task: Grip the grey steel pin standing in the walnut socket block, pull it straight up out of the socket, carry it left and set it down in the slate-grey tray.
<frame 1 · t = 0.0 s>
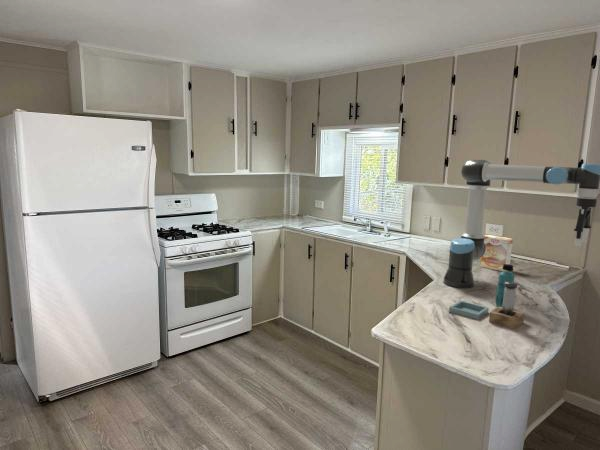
hand: (580, 243, 197), 28 cm above the worktop, tool pointing down, fingers open, 13 cm apart
beverage bottle: (502, 308, 189), on the worktop
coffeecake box: (494, 268, 260), on the worktop
socket block: (505, 324, 170), on the worktop
tray: (468, 314, 180), on the worktop
steel pin: (506, 322, 170), point 1 cm above the worktop, touching socket block
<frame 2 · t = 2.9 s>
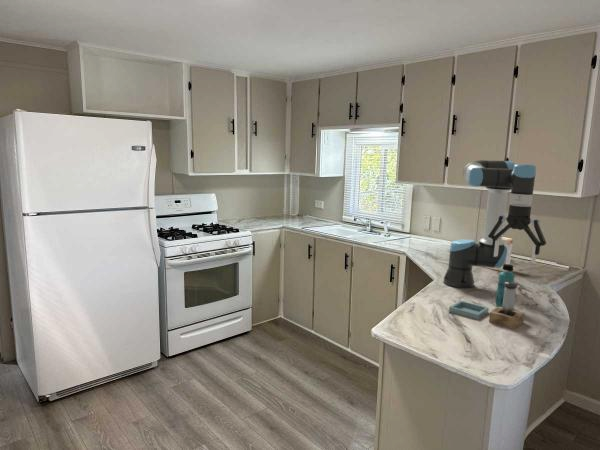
hand: (513, 259, 166), 27 cm above the worktop, tool pointing down, fingers open, 13 cm apart
nothing on the worktop moved.
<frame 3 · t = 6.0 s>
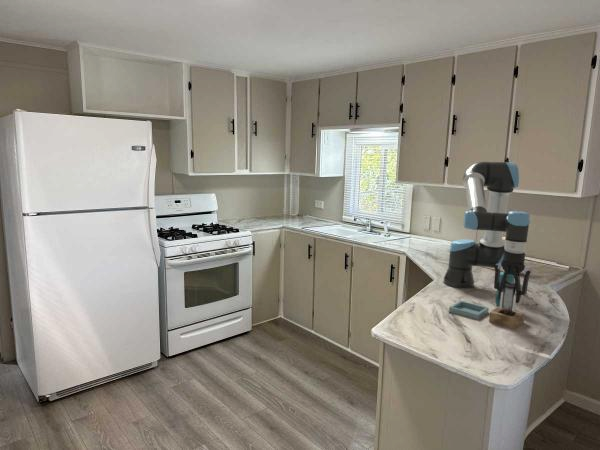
hand: (507, 308, 169), 7 cm above the worktop, tool pointing down, fingers closed on steel pin, 4 cm apart
steel pin: (506, 322, 170), point 1 cm above the worktop, touching gripper, socket block
everything else where it was.
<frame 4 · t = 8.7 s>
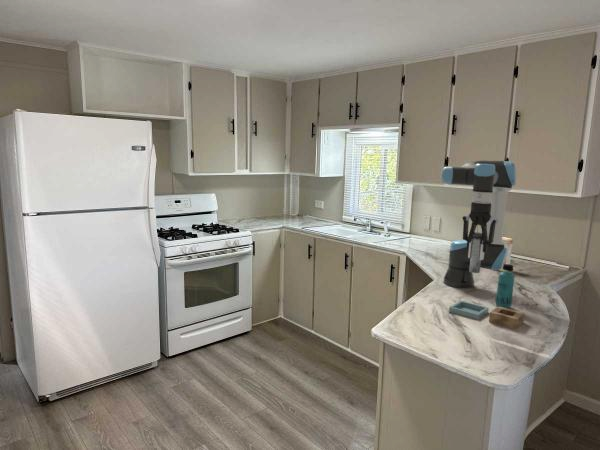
hand: (475, 258, 176), 24 cm above the worktop, tool pointing down, fingers closed on steel pin, 4 cm apart
steel pin: (474, 271, 177), point 19 cm above the worktop, touching gripper
everything else where it was.
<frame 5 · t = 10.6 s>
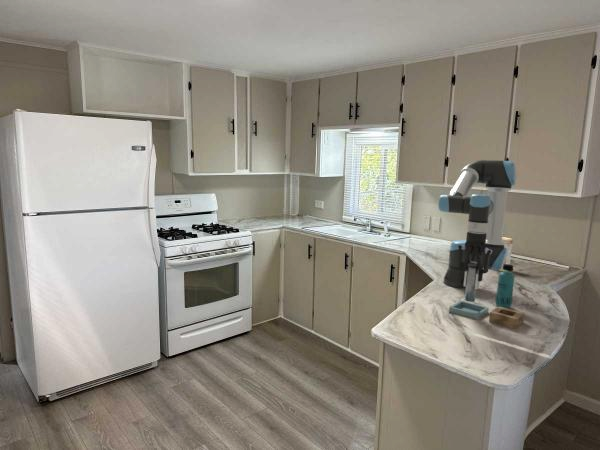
hand: (471, 287, 178), 12 cm above the worktop, tool pointing down, fingers closed on steel pin, 4 cm apart
steel pin: (469, 300, 179), point 6 cm above the worktop, touching gripper
everything else where it was.
when the fingers open (8 cm above the worktop, at t = 11.9 s): steel pin drops 1 cm, resting on tray.
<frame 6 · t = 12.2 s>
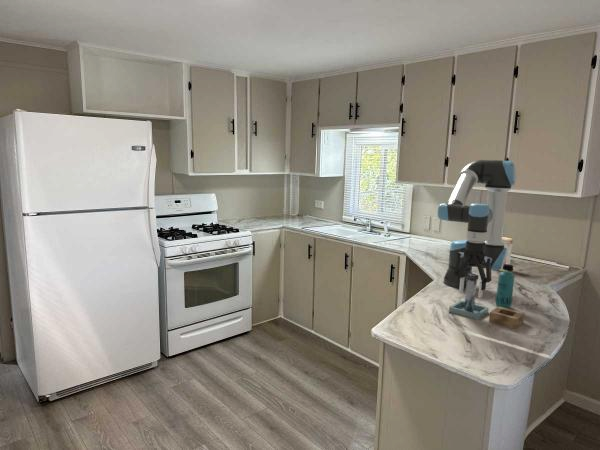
hand: (470, 294, 179), 9 cm above the worktop, tool pointing down, fingers open, 7 cm apart
steel pin: (468, 311, 180), point 1 cm above the worktop, touching tray
everything else where it was.
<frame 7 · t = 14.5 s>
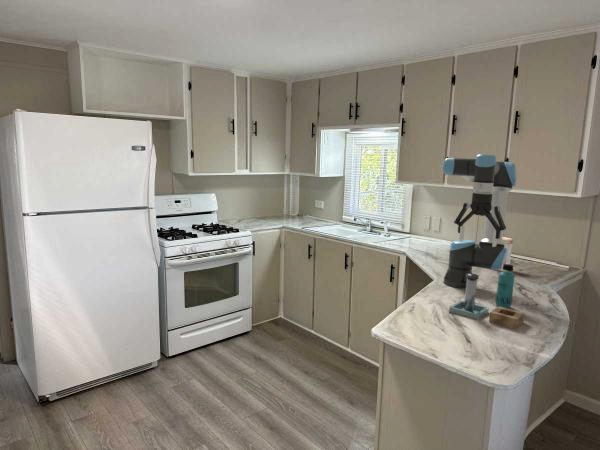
hand: (477, 243, 178), 30 cm above the worktop, tool pointing down, fingers open, 13 cm apart
nothing on the worktop moved.
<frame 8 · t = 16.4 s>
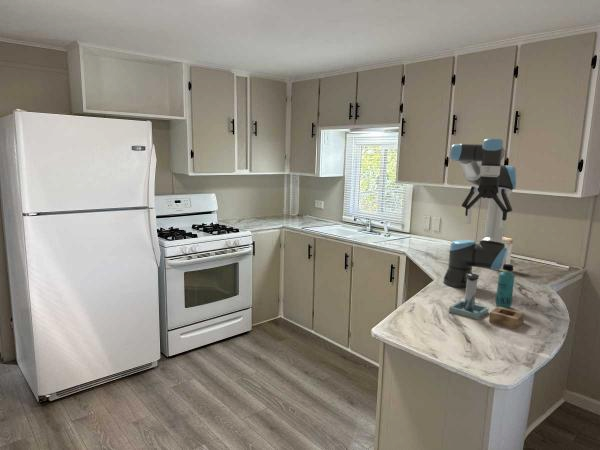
hand: (484, 225, 183), 37 cm above the worktop, tool pointing down, fingers open, 13 cm apart
nothing on the worktop moved.
at the end: steel pin inside the target area on the tray (0.0 cm from its centre), point 1.0 cm above the tray's base; the gripper is holding nothing; steel pin touching tray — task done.
